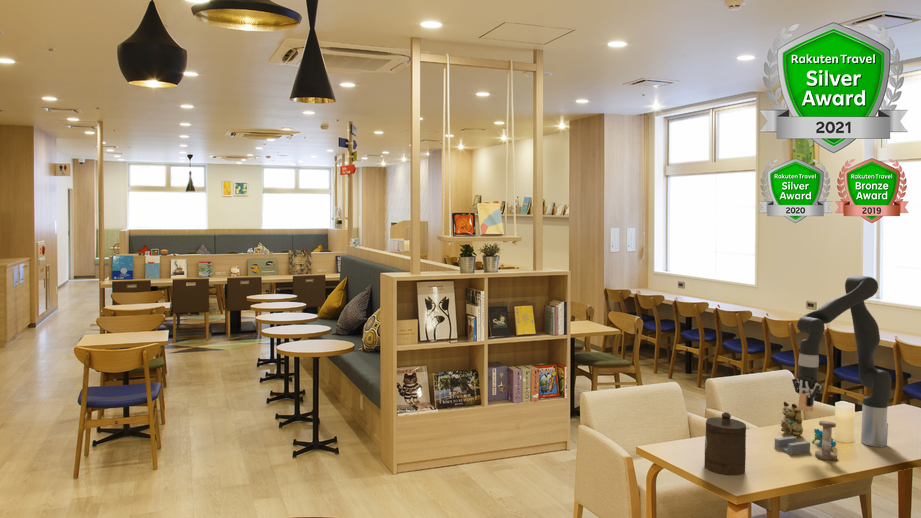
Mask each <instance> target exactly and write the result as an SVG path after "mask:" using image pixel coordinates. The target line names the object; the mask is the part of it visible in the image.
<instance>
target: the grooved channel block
mask: <svg viewBox="0 0 921 518" xmlns="http://www.w3.org/2000/svg"><path fill="white" fill-rule="evenodd" d="M797 438H798V437H793V436H783V437H777V438H774V448H775V449H777V450H780V451H781V450H782V452H785V453H787V454H788V455H791V456H792V455H799V454H806V453H810V452H811V442H809V441H807V440H804V441H798V440H797Z"/></svg>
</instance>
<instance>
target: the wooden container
mask: <svg viewBox="0 0 921 518" xmlns="http://www.w3.org/2000/svg"><path fill="white" fill-rule="evenodd" d="M731 417H732V415H731V414H730V413H729V412H726V411H725V412H722V413H721V417H718V416H717V417H709V418H707V419H706V421H705V440H704V468H706V469H707V470H709V471H711V472H713V473H717V474H721V475H727V476H738V475H742V474H744V473H745V472H746V461H747V460H746V458H747V457H746V454H747V452H746V451H747V449H746V447H747V446H746V445H747V444H746V439H747V438H746V437H747V436H746V435H747V434H746V433H747V425H746V423H745V422H743V421H740V420H737V419H735V418H734V419H733V418H731Z"/></svg>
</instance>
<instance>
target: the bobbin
mask: <svg viewBox="0 0 921 518" xmlns="http://www.w3.org/2000/svg"><path fill="white" fill-rule="evenodd" d="M818 425H819V426H821V427H822V431H823V436H822V444H821V450H816V451H814V456H815V458H817V459H820V460H822V461H827V462H834V461H835V462H836V461H837V460H838V454H836V453H834V452H832V446H831V438H832V434H833V433H832V431H833V428H836V427H837V423H835V422H833V421H830V420H819V422H818Z"/></svg>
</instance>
